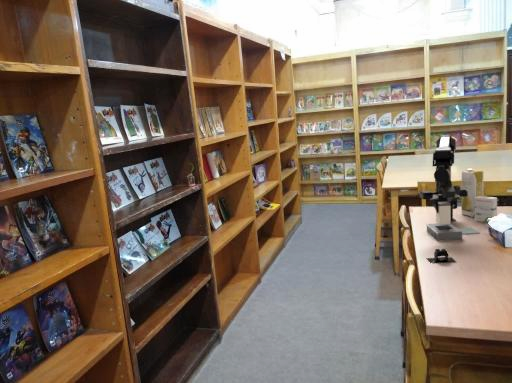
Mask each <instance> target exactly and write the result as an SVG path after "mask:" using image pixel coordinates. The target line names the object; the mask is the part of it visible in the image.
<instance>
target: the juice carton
mask: <svg viewBox="0 0 512 383" xmlns="http://www.w3.org/2000/svg"><path fill="white" fill-rule="evenodd" d="M484 174H485V172H484V170H475V169H473V168H467V169H466V170H461V188H463V189H465V190H467V192H468V196H466V197H461V214H462V215H465V216H468V217H471V218H475V197H478V196H484Z"/></svg>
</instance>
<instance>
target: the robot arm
mask: <svg viewBox="0 0 512 383" xmlns="http://www.w3.org/2000/svg"><path fill="white" fill-rule="evenodd" d="M435 146H436V147H435V150H434V152H433V153H432V167H435V171H434V174H433V179H434V183H435V189H434V191H430V190H420V191H419V193H418V194H419V198H420V199H422V200H429V201H431V203H432V206H433V207H434V210H435V213H436V212H437V213H438V212H439V209H438V202H448V203H450V204H451V222H455V221H456V219H455V218H454V210H456V209H458V200H459V199H460V198H462V197H466V196H468V192H467V190H465V189H463V188H462V187H461V186H460V185H453V183H452V167H453V164H455V151H456V150H457V139H455V138H453V137H452V135H451V134H447V135H444V134H442V135H440V136H439V138H438V139H437V140H436V145H435Z"/></svg>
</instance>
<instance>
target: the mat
mask: <svg viewBox="0 0 512 383" xmlns="http://www.w3.org/2000/svg"><path fill="white" fill-rule="evenodd" d="M457 228H458V227H457ZM458 229H459V230H461V231H462V236H463V235H475V234H480V233H481V232H480V231H478V230H476V229H475V228H473V227H459V228H458Z"/></svg>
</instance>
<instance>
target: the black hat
mask: <svg viewBox="0 0 512 383" xmlns="http://www.w3.org/2000/svg"><path fill="white" fill-rule="evenodd" d="M425 258H426V259H425V260H426V261H427V262H430V264H431V263H432V264H451V263H457V261H456V260H455V259H454V258H453V257H452V256H449V253H448V250H447V249H446V248H441V249H440V248H436V249H434V252H433V257H425Z"/></svg>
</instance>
